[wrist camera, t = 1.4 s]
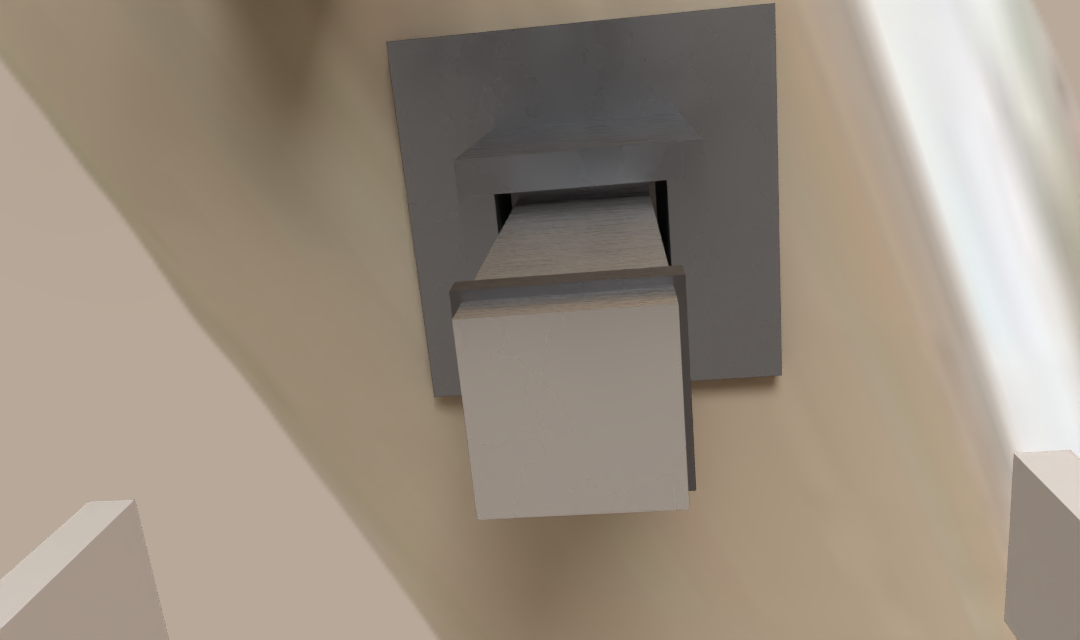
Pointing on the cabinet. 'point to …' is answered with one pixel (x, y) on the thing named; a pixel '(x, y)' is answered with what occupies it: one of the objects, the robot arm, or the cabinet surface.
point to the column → (577, 360)
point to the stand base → (604, 158)
